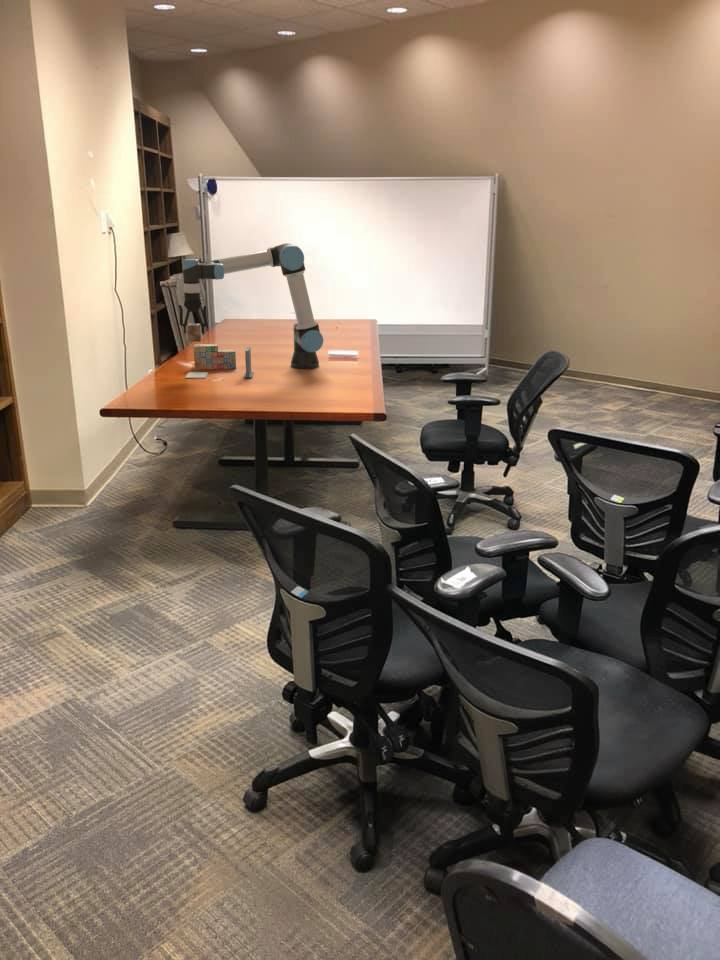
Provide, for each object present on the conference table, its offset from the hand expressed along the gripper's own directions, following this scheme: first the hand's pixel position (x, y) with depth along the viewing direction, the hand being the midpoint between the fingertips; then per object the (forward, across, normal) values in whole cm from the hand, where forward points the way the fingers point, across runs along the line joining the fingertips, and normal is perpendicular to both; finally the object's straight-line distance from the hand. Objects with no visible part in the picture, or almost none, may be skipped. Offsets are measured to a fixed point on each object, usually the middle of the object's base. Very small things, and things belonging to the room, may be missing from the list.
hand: (194, 339), depth 378 cm
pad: (+18, 0, 0) cm, 18 cm away
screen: (+18, -26, 0) cm, 32 cm away
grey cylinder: (0, 0, 0) cm, 0 cm away
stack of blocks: (+19, -7, -20) cm, 28 cm away
